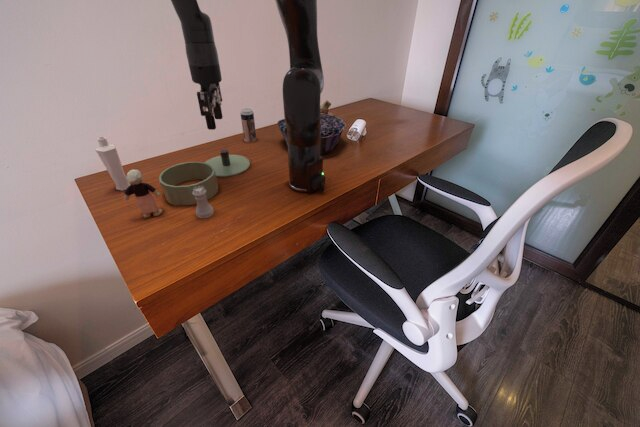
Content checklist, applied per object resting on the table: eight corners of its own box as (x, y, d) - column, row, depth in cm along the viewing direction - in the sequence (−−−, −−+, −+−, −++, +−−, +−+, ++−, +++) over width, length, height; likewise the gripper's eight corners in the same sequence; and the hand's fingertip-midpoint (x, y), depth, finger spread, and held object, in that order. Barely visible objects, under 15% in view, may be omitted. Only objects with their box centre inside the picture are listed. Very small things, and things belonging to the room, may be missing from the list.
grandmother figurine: (165, 206, 75) (149, 163, 68) (167, 214, 73) (150, 170, 65) (133, 214, 72) (112, 170, 65) (133, 222, 70) (111, 177, 62)
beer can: (253, 143, 110) (250, 112, 102) (242, 142, 110) (237, 111, 103) (258, 139, 113) (255, 108, 106) (247, 138, 114) (243, 107, 107)
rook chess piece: (216, 209, 75) (210, 183, 70) (211, 220, 71) (205, 193, 66) (199, 209, 75) (192, 183, 70) (194, 220, 71) (185, 193, 66)
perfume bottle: (128, 181, 85) (107, 133, 76) (135, 186, 83) (114, 137, 74) (112, 187, 82) (88, 138, 73) (118, 192, 80) (94, 142, 71)
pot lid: (259, 166, 95) (257, 149, 92) (222, 183, 85) (219, 166, 82) (230, 153, 102) (228, 138, 99) (193, 168, 92) (189, 151, 89)
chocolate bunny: (320, 118, 136) (320, 96, 130) (335, 120, 134) (337, 98, 128) (316, 122, 132) (316, 99, 126) (332, 124, 130) (333, 101, 124)
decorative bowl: (268, 156, 105) (264, 131, 99) (294, 126, 125) (293, 103, 119) (333, 167, 100) (334, 141, 93) (350, 134, 119) (352, 111, 113)
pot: (228, 190, 82) (224, 171, 79) (184, 213, 73) (177, 193, 69) (199, 175, 89) (195, 157, 85) (156, 194, 80) (148, 174, 76)
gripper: (196, 57, 78) (208, 115, 88) (179, 66, 67) (195, 132, 76) (224, 57, 78) (233, 116, 88) (211, 67, 67) (223, 133, 77)
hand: (215, 123), depth 82 cm, fingers open, 8 cm apart
